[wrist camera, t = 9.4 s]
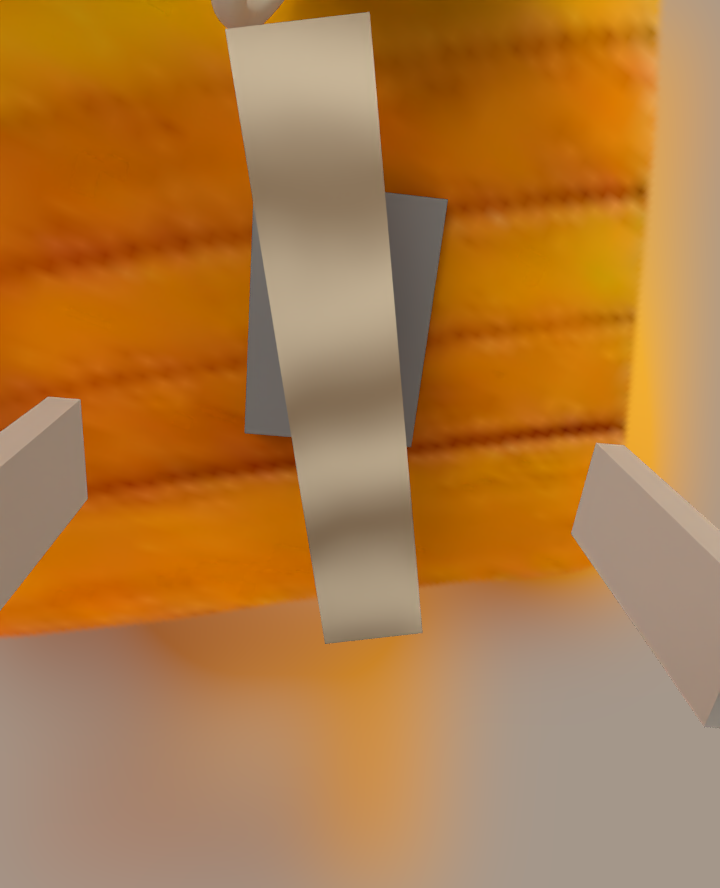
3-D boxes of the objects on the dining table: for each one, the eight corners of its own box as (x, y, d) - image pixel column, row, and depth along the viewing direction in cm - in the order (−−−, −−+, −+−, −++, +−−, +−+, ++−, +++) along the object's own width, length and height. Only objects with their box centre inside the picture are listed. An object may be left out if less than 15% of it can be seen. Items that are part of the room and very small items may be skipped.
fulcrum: (258, 178, 33) (234, 173, 25) (441, 199, 34) (474, 201, 26) (249, 421, 38) (226, 480, 30) (407, 434, 39) (425, 496, 31)
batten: (246, 61, 24) (225, 28, 19) (362, 47, 24) (369, 11, 19) (326, 580, 33) (325, 643, 28) (410, 570, 33) (422, 632, 28)
